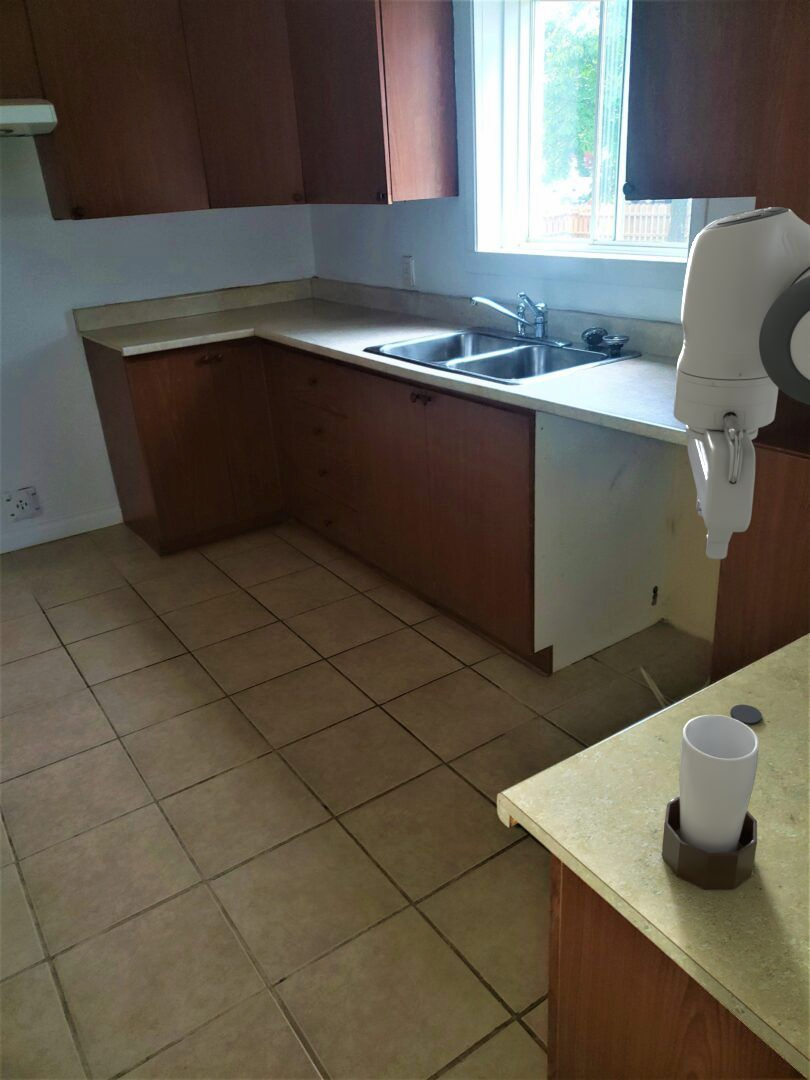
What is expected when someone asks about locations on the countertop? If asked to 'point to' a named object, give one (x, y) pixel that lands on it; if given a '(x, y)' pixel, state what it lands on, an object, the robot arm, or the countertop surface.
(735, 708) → the coaster
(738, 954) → the countertop surface
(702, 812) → the drinking glass
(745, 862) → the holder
